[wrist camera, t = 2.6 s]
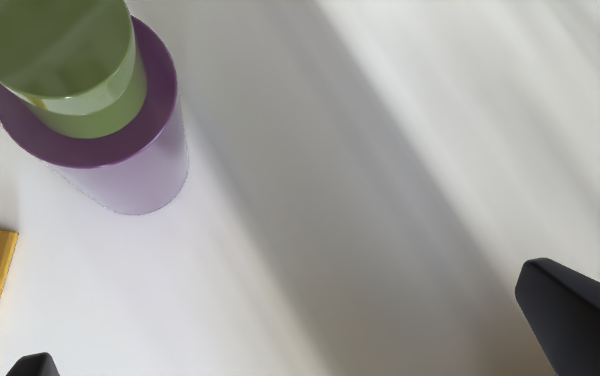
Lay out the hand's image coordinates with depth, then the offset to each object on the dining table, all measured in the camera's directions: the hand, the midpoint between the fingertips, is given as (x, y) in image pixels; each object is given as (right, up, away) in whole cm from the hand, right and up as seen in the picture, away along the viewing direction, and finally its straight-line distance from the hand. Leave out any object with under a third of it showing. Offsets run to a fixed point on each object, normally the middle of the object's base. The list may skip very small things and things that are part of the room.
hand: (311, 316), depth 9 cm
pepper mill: (-8, +4, +13) cm, 16 cm away
